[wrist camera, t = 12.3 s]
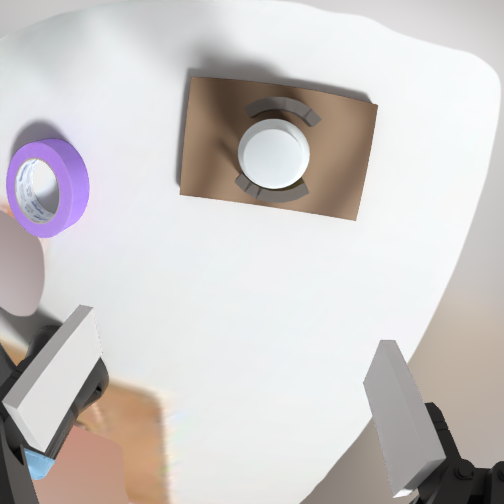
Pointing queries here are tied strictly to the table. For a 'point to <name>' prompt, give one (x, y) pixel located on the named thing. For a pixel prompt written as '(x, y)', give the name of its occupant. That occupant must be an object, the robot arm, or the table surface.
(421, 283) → the table surface
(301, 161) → the supplement bottle
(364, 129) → the collar board
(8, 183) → the masking tape
